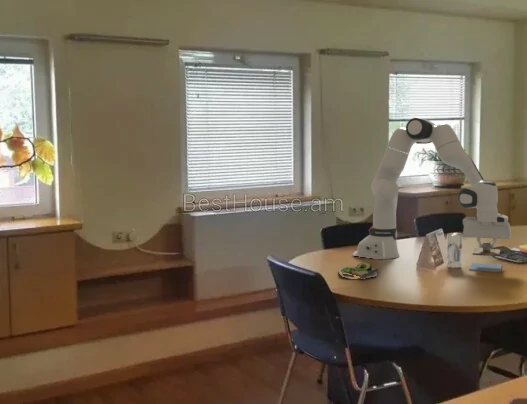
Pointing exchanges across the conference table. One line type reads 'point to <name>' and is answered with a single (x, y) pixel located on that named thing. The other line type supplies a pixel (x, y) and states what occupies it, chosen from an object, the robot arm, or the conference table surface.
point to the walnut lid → (486, 250)
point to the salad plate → (361, 271)
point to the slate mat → (485, 267)
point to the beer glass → (454, 249)
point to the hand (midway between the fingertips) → (486, 247)
